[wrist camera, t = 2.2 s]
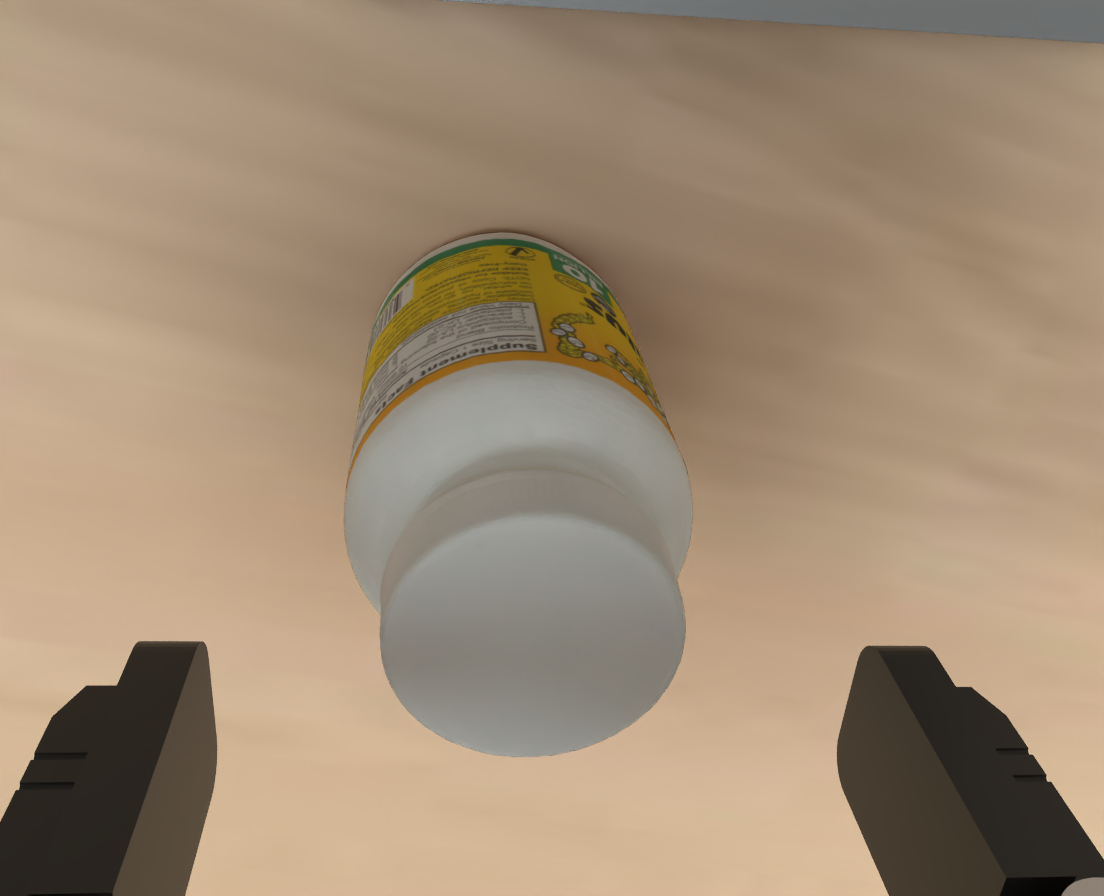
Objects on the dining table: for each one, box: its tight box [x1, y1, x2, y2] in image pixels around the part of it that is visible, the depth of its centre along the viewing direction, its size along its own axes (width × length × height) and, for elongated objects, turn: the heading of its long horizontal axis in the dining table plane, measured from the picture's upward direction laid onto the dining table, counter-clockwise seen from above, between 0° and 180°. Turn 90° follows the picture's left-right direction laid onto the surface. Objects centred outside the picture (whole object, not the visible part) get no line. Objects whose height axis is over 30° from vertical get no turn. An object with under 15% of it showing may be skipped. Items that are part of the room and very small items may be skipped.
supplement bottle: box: [344, 232, 693, 757], centre depth 18 cm, size 5×5×10 cm
